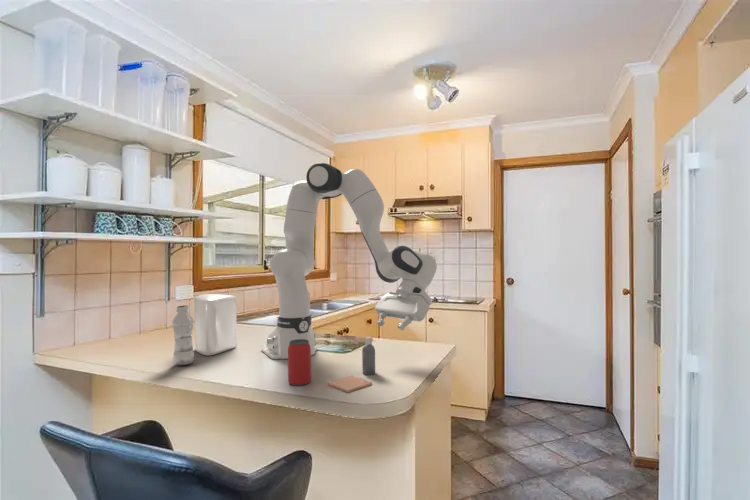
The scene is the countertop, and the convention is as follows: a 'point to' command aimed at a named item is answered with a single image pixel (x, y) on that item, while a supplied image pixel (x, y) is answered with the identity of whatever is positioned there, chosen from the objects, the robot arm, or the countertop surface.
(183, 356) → the plastic bottle
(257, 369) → the countertop surface
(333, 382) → the tile
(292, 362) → the beer can
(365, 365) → the grey pump bottle
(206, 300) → the white rounded block
